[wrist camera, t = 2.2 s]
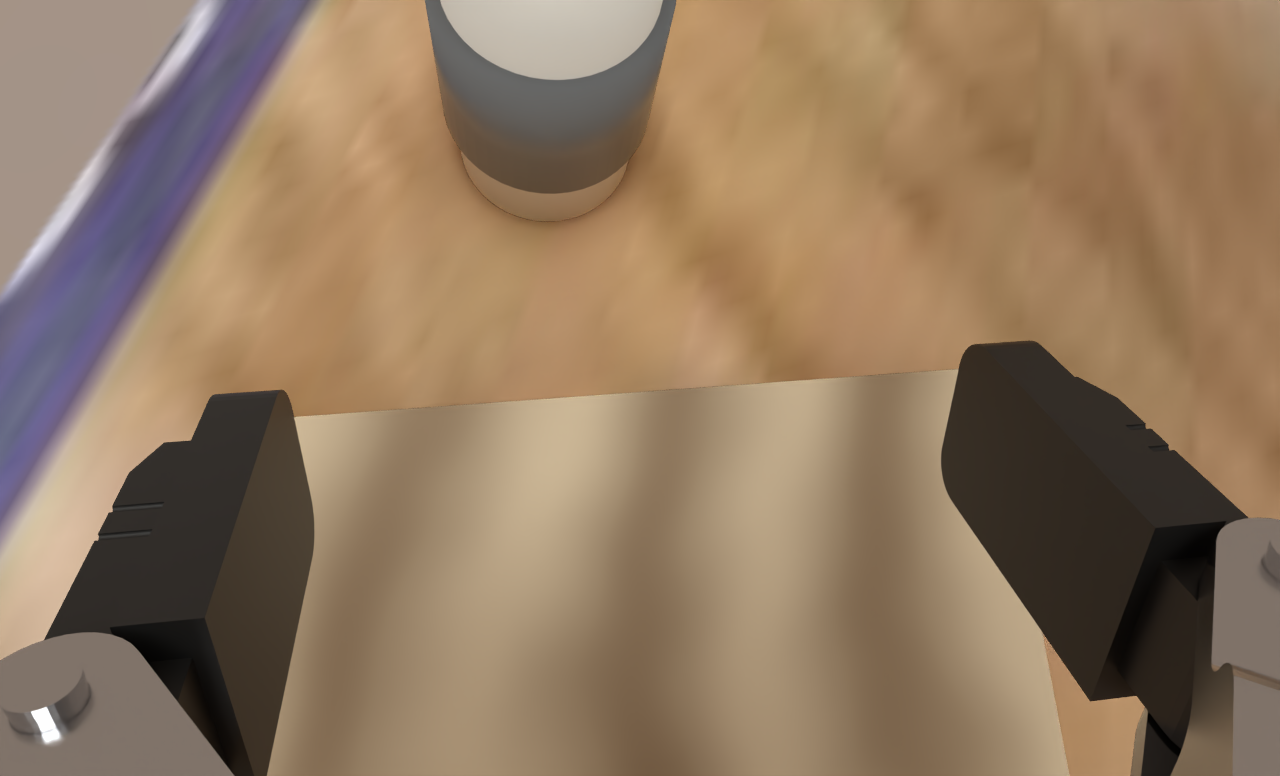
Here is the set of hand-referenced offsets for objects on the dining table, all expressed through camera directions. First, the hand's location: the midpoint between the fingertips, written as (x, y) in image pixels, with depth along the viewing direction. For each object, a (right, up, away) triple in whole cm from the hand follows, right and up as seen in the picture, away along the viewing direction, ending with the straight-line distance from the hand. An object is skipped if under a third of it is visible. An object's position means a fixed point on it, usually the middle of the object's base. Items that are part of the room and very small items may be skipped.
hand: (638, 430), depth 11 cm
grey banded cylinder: (-3, +8, +17) cm, 19 cm away
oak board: (+1, -5, +14) cm, 15 cm away
